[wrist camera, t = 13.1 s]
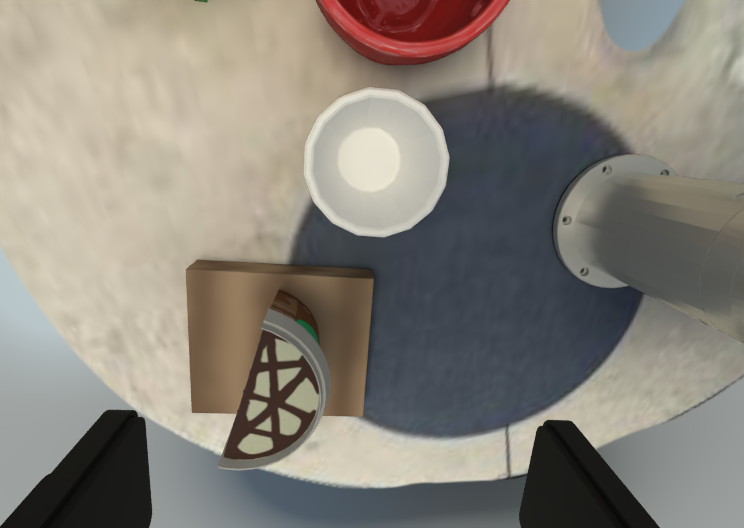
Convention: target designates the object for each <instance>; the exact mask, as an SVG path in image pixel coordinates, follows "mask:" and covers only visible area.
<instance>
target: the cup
mask: <svg viewBox="0 0 744 528" xmlns="http://www.w3.org/2000/svg"><path fill="white" fill-rule="evenodd" d="M449 158H450V157H449V153H448V149H447V145H446V141H445V137H444V133H443V129H442V128H441V126H440V125H439V124H438V122H437V121H436V120H435V118H434V117H433V115H432V114H431V113H430V111H429V110H428V109H427V107H426V106H425V105H424V104H422V103H420V102H419V101H417V100H415V99H413V98H412V97H410V96H408V95H407V94H405V93H403V92H401V91H400V90H393V89H384V88H374V87H367V88H364V89H361V90H358V91H355V92H352V93H349V94H346V95H343V96H340V97H339V98H338V99H337V100H336V101H335V102H334V103H332V104H331V105H330V106H329V107H328V108H327V109H326V110H325V111H324V112H322V113H321V114H320V115H319V116H318V117H317V119H316V122H315V124H314V126H313V128H312V130H311V132H310V134H309V137H308V139H307V141H306V143H305V154H304V177H305V179H306V182H307V185H308V188H309V191H310V194H311V196H312V199H313V202H314V203H315V204H316V205H317V206H318V208H319V209H320V210H321V211H322V212H323V213H324V214H325V215H326V217H327V218H328V219H329V220H330V221H331V222H332V223H333V224H335V225H337V226H339V227H341V228H343V229H345V230H347V231H349V232H351V233H353V234H355V235H360V236H374V237H387V236H390V235H393V234H396V233H399V232H402V231H405V230H408V229H411V228H412V227H413V226H415V225H416V224H417V223H418V222H419V221H421V220H422V219H423V218H424V217H425V216H427V215H428V214H429V213H430V212H431V211H432V210H433V208H434V207H435V205H436V203H437V201H438V199H439V198H440V196H441V194H442V192H443V190H444V189H445V187H446V181H447V173H448V166H449Z"/></svg>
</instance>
